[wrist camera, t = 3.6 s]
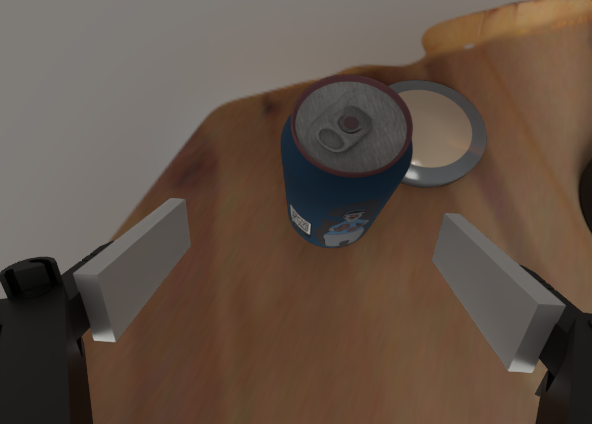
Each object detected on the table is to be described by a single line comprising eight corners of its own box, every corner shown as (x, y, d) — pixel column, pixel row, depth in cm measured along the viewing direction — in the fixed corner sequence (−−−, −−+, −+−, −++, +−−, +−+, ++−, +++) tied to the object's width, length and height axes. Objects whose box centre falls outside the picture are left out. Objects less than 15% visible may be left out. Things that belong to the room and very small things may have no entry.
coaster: (452, 81, 30) (459, 71, 28) (499, 176, 26) (508, 168, 25) (347, 98, 29) (349, 89, 28) (378, 197, 25) (382, 191, 24)
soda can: (329, 162, 27) (349, 44, 15) (387, 214, 25) (458, 123, 14) (271, 209, 25) (247, 117, 14) (328, 269, 23) (353, 218, 12)
